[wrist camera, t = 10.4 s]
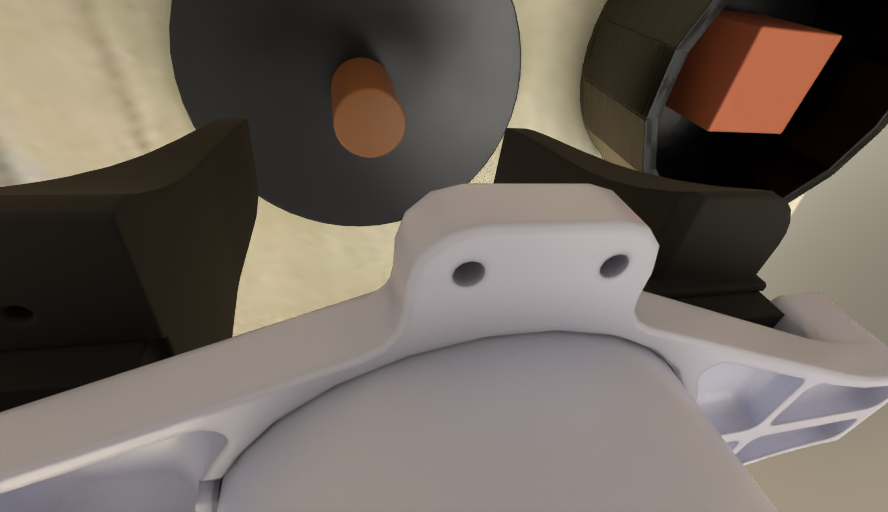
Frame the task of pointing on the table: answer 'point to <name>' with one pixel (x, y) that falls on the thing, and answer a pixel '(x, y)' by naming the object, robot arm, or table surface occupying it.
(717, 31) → the block
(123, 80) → the table surface
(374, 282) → the table surface
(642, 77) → the pot
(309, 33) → the lid
